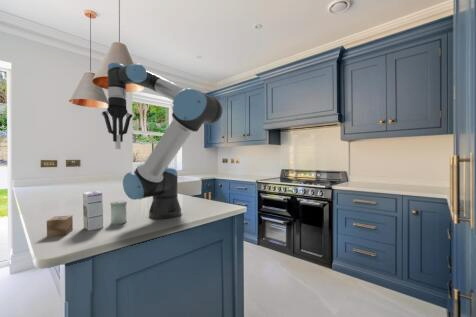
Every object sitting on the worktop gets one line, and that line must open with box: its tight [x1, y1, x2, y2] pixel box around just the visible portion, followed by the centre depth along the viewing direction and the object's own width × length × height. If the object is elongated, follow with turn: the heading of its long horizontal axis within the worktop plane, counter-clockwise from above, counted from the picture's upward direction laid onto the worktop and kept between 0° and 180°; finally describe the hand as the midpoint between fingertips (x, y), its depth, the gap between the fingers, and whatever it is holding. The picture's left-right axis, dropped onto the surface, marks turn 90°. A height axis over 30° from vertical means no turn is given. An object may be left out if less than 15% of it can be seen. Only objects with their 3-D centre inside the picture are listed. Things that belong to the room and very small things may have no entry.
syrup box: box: [82, 190, 104, 231], centre depth 94 cm, size 6×6×14 cm
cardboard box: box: [46, 215, 74, 238], centre depth 87 cm, size 6×6×6 cm
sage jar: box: [109, 200, 128, 225], centre depth 101 cm, size 6×6×9 cm
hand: (118, 148), depth 108 cm, fingers closed
